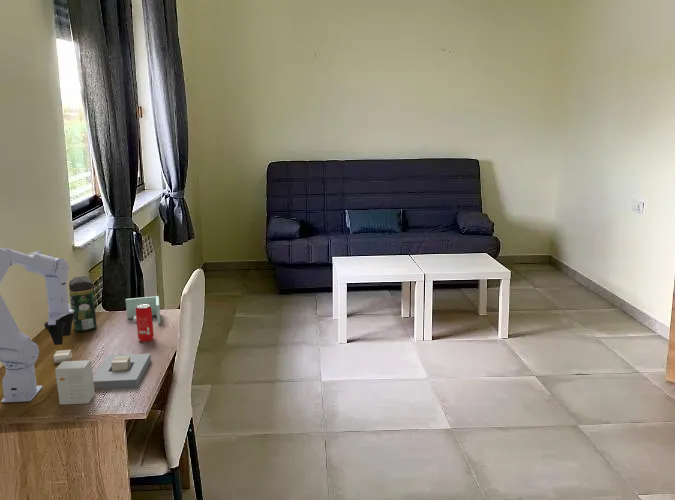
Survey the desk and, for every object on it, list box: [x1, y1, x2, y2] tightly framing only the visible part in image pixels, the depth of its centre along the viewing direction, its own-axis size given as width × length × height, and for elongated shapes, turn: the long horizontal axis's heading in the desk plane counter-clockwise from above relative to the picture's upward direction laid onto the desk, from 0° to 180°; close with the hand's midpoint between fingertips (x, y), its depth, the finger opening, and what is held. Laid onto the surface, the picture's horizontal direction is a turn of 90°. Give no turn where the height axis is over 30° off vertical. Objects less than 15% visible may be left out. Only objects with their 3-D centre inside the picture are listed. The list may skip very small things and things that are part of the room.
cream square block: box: [111, 356, 131, 371], centre depth 199 cm, size 4×4×5 cm
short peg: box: [53, 349, 73, 364], centre depth 212 cm, size 4×4×2 cm
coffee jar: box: [68, 276, 97, 332], centre depth 240 cm, size 10×8×19 cm
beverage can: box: [136, 304, 155, 343], centre depth 227 cm, size 5×5×12 cm
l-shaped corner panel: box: [125, 295, 162, 325], centre depth 248 cm, size 12×12×8 cm
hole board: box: [93, 353, 152, 391], centre depth 199 cm, size 20×13×2 cm, turn 4°
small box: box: [54, 359, 96, 406], centre depth 182 cm, size 8×6×10 cm
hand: (62, 339), depth 203 cm, fingers open, 7 cm apart
